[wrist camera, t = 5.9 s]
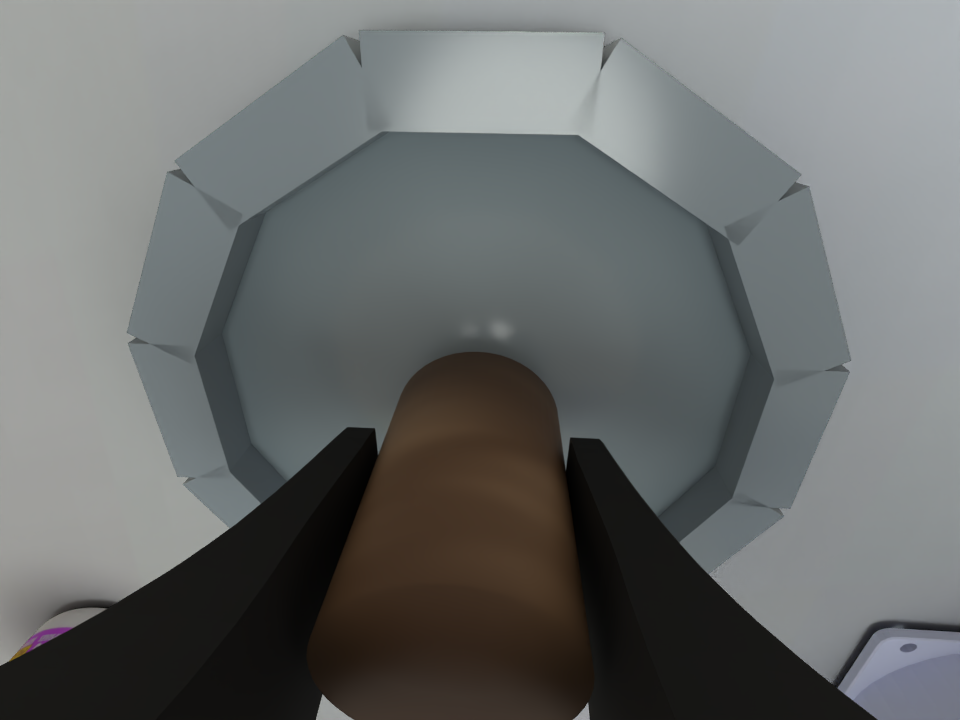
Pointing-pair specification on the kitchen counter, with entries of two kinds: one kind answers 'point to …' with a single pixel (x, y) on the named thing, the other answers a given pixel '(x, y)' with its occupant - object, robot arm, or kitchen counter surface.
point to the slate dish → (493, 272)
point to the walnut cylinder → (460, 560)
